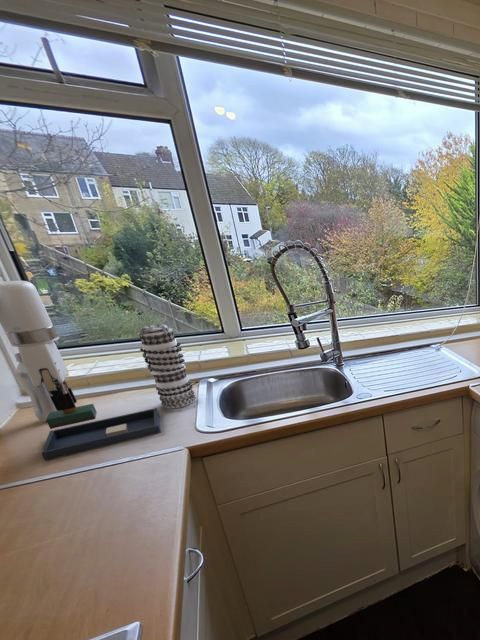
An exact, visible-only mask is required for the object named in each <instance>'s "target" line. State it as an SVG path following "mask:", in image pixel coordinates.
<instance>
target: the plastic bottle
mask: <svg viewBox="0 0 480 640" xmlns="http://www.w3.org/2000/svg"><path fill="white" fill-rule="evenodd" d="M14 358H15V361H16V362H17V363H18V364H17V366H16V368H15V371H14V373H15V376H16V378H17V379H18V381H19V382H20V383H21V385H22V386H23V388H24V390H25V391H26V392H27V394H28V397H29V398H30V401H31V404H32V407H33V412H34V416H35V417H36V418H37V419H38V420H39V421H40V422H43V423H47V421H46V419H47V416H48V414H49V413H50V412H55V411H57V410H56V408H55V406H54V404H53V402H52V400H51V398H50V395H49V393H48V391H47V389H46V387H45V385H44V383H43V382H42V384H41V386H40V387H35V386H33V384H32V381H31V379H30V377H29V375H28V372H27V370H26V368H25V365H24V363H23V361H22V358H21V355H20V352H16V353H15V354H14Z"/></svg>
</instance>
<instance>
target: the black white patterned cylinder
mask: <svg viewBox="0 0 480 640" xmlns="http://www.w3.org/2000/svg"><path fill="white" fill-rule="evenodd" d="M173 330H174V329H173V328H170V327H169V326H168V325H166V324H150V325H146V326H143V327H141V328H140V330H139V332H138V333H136V335H137V336H138V337H139V339H140V342H141V348H139V351H140V352H142V355H141V356H142V358H144V362H145V363H146V364H147V365H146V366H147V369H148V370H149V372H150V375H153V377H154V383H155V385H156V387H155V390H156V391H157V395H159V401H160V405H161V406H163V407H165V408H167V409H178V408H182V407H186V406H189V405H191V404H193V403H194V401H195V399H196V398H197V397H196V394H195V390H194V389H193V388H194V387H193V385H192V381H191V380H190V379H189V376H188V374H187V372H186V365H185V364H184V363H185V361H186V360H185V359H184V354H183V353H180V352H181V351H182V350H183V349H182V347H180V346H181V343H180V342H178V341H177V339H176V338H175V334H174V331H173Z"/></svg>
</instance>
